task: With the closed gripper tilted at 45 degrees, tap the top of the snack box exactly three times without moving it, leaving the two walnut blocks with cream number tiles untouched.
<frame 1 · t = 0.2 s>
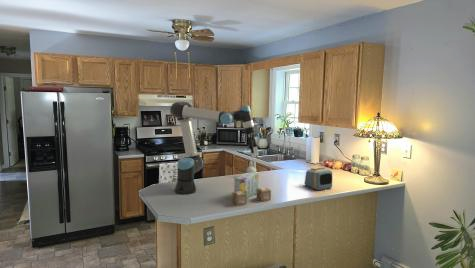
hand: (255, 156, 217), 27 cm above the countertop, tool tilted 15°, fingers open, 13 cm apart
alarm clock: (318, 187, 244), on the countertop
toy: (248, 179, 261), on the countertop
snack box: (246, 196, 216), on the countertop
walnut block 1: (239, 203, 201), on the countertop
walnut block 2: (263, 199, 210), on the countertop
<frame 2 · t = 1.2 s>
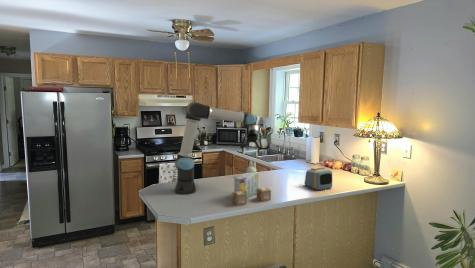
hand: (250, 156, 226), 26 cm above the countertop, tool tilted 45°, fingers open, 9 cm apart
nothing on the countertop moved.
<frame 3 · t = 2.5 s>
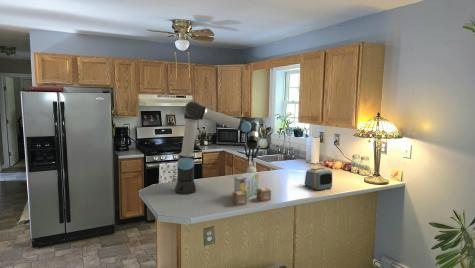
hand: (249, 164, 219), 21 cm above the countertop, tool tilted 45°, fingers closed
nothing on the countertop moved.
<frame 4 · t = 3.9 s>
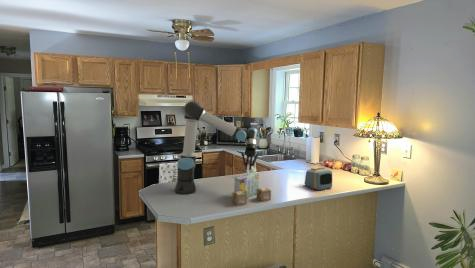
hand: (247, 173, 214), 16 cm above the countertop, tool tilted 45°, fingers closed
snack box: (246, 196, 216), on the countertop, touching gripper
everything else where it was.
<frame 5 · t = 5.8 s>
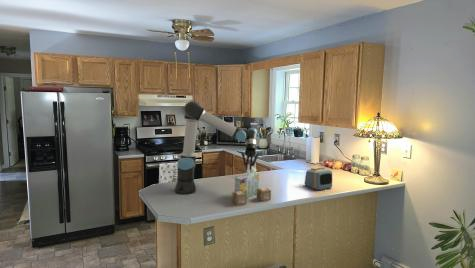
hand: (248, 173, 214), 16 cm above the countertop, tool tilted 45°, fingers closed
nothing on the countertop moved.
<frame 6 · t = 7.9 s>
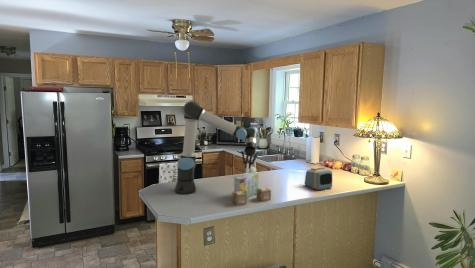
hand: (246, 172, 214), 17 cm above the countertop, tool tilted 45°, fingers closed
snack box: (246, 196, 216), on the countertop
everything else where it was.
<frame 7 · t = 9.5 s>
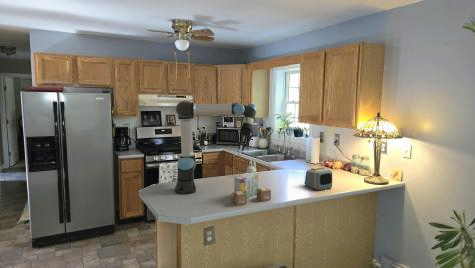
hand: (239, 154, 223), 28 cm above the countertop, tool tilted 25°, fingers closed
nothing on the countertop moved.
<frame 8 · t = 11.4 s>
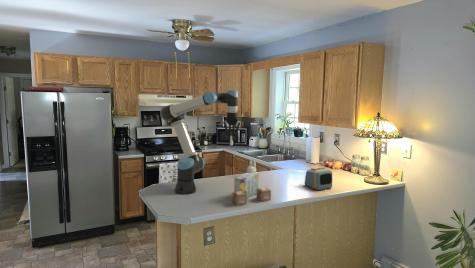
hand: (231, 144, 221), 34 cm above the countertop, tool pointing down, fingers closed
nothing on the countertop moved.
at the end: snack box moved 0.3 cm from its start; snack box tilted 0°; walnut block 1 moved 0.1 cm from its start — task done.
